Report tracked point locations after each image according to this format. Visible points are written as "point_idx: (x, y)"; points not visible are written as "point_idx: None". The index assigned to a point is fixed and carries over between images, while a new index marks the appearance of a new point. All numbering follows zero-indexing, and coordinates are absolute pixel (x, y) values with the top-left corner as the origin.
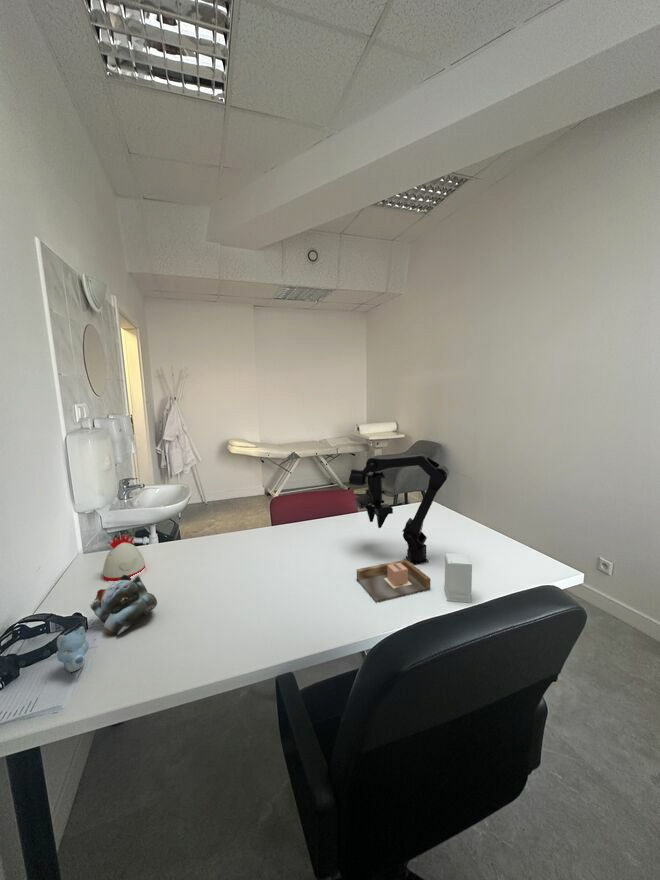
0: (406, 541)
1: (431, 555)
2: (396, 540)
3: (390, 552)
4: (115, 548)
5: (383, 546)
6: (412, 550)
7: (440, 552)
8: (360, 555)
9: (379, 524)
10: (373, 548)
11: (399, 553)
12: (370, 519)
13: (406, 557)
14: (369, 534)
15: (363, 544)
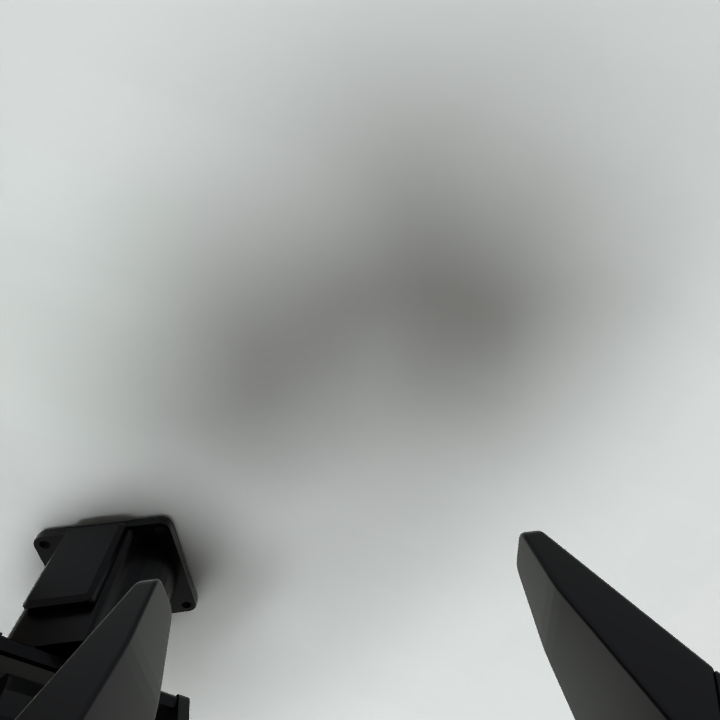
0: (6, 676)
1: (185, 652)
2: (491, 549)
3: (300, 449)
4: None
5: (431, 436)
6: (16, 624)
7: (218, 697)
8: (315, 162)
9: (70, 677)
10: (426, 346)
11: (264, 501)
12: (546, 579)
13: (150, 523)
14: (711, 408)
15: (549, 287)
